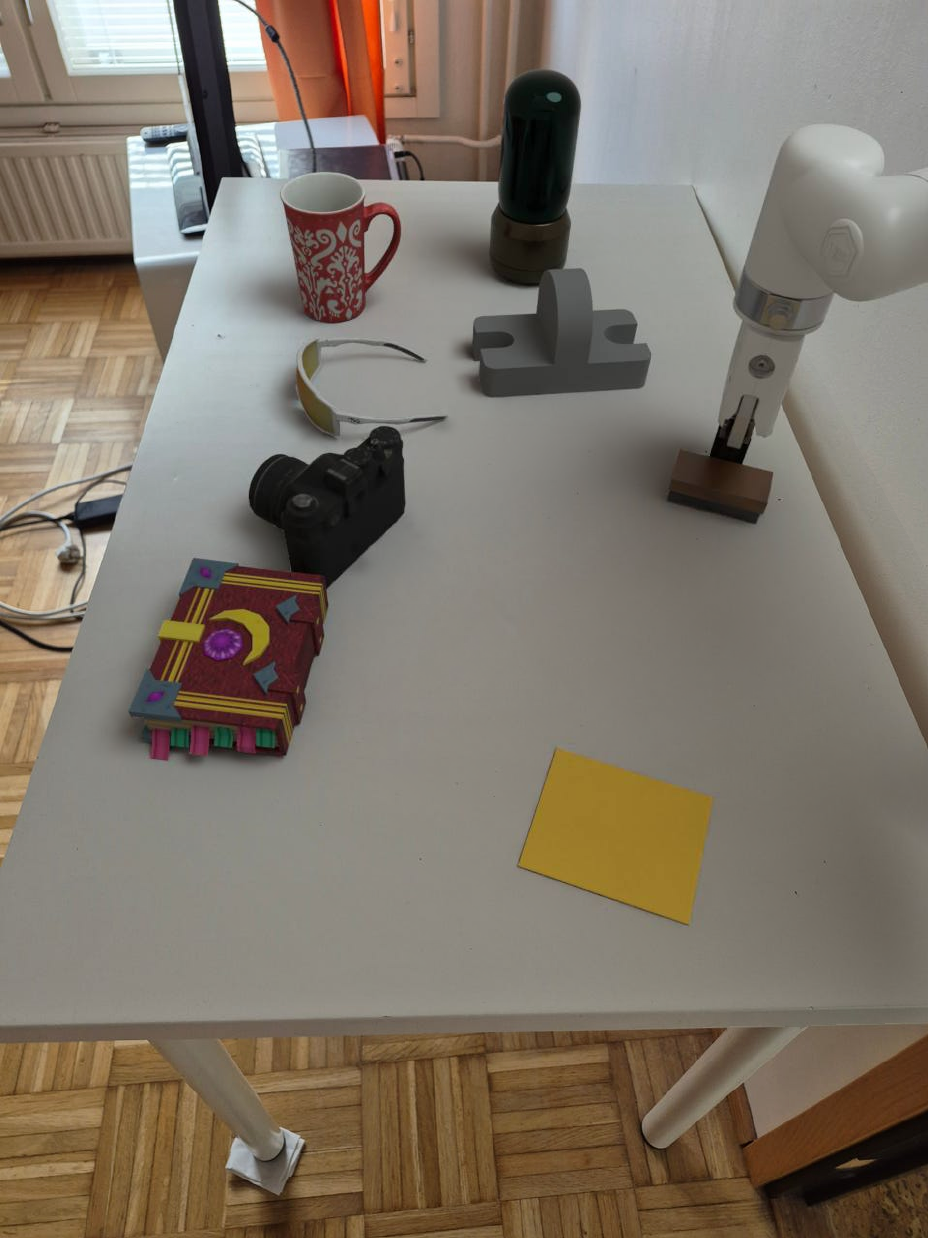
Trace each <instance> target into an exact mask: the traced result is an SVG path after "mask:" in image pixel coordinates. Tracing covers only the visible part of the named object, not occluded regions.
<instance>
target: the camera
mask: <svg viewBox="0 0 928 1238" xmlns="http://www.w3.org/2000/svg"><path fill="white" fill-rule="evenodd" d="M403 450H404V441H403V440H402V438H401V433H400V431H399V430H398V429H397V428H395V427H393V426H389V425H380V426H377V427H375V428H373V429H372V430H371V431H370V432H369V434H368V437H367V438H366V439H364V441H362V442H361V443H360V444H359V445H357V446H356V447H351V448H349V449H346V450H345V451H344V453H343V454H341V453H335V452H325V453H322V454H320V455H318V456H317V457H316V458H315V459H314V460H313V461H311V463H307V462H305V461H303V460H301V459H299V458H297V457H295V456H289V455H287V454H282V453H276V454H273V455H271V456H270V457H268V458H267V459H265V460H264V461H263V462H262V463H261V464H260V465H259V466H258V468H257V470H256V471H255V473H254V474H253V477H252V479H251V481H250V484H249V489H248V496H247V497H248V503H249V507H250V509H251V510H252V512H253V513H254V515H255V516H257V517H259V518H260V519H262V520H263V521H264V522H267V523H268V524H269V525H272V526H274V527H275V528H276V529H279V530H280V531H282V532H283V536H284V541H285V546H286V552H287V557H288V563H289V568H290V572H296V573H305V574H314V575H323V576H325V583H326V590H328V589H329V588H330V587H331V586H332V584H333V583H334V582H336V581H337V580H338V579H339V578H340V577H341V576H342V575H343V574H344V573H345V572H346V571H347V570H348V569H349V568H350V567H351V566H352V565H353V564H354V563H355V562H357V560H359V559H360V558H361V556H363V555H364V554H365V553H366V552H367V551H368V550H369V548H370V547H371V546H372V545H374V544H375V543H376V542H378V540H380V538H381V537H382V536H383V535H384V534H385V533H386V532H387V531H388V530H389V529H391V528H392V527H393V526H394V525H395V524H396V523H397V522H398V521H399V520H400V519H401V518H402V516H403V515H404V513H405V510H406V503H407V502H406V486H405V481H406V480H405V458H404V455H403Z"/></svg>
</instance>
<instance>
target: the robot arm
mask: <svg viewBox="0 0 928 1238" xmlns="http://www.w3.org/2000/svg"><path fill="white" fill-rule="evenodd" d="M884 153H885V152H884V150H883V148H882V146H881V145H880V143H879V142H878V141H877V140H876V139H875V138H874V137H873V136H871V135H870V134H867V133H866V132H864V131H861V130H859V129H856V128H854V127H850V126H846V125H843V124H842V125H841V124H835V123H814V124H813V123H812V124H808V125H805V126H802V127H800V128H798V129H796V130H794V131H792V133H790V135H788V137H787V138H785V140H784V141H783V143H782V145H781V146H780V148H779V151H778V154H777V157H776V160H775V163H774V166H773V170H772V173H771V176H770V179H769V182H768V186H767V188H766V193H765V195H764V199H763V202H762V205H761V209H760V213H759V215H758V218H757V222H756V225H755V229H754V231H753V234H752V238H751V241H750V245H749V249H748V252H747V255H746V258H745V261H744V265H743V268H742V270H741V274H740V277H739V280H738V284H737V287H736V290H735V294H734V297H733V299H732V308H733V309H734V312H735V314H736V315H737V317H738V318H739V319H740V320H742V321H741V323H740V327H739V329H738V333H737V337H736V340H735V344H734V346H733V350H732V354H731V357H730V362H729V365H728V369H727V373H726V376H725V377H726V378H725V382H724V387H723V392H722V398H721V402H720V406H719V413H718V416H717V423H718V427H717V431H716V433H715V437H714V440H713V442H712V444H711V445H712V446H711V448H710V452H709V455H708V456H710V457H714V458H718V459H722V460H726V461H730V462H735V463H739V464H743V465H744V461H745V458H746V455H747V453H748V450H749V447H750V445H751V443H752V437H753V433H754V430H755V435H756V436H758V437H762V439H767V438H768V437H770V436H771V435H772V433H773V429H774V426H775V424H776V422H777V418H778V416H779V412H780V409H781V407H782V404H783V401H784V398H785V396H786V393H787V392H788V388H789V385H790V382H791V379H792V377H793V374H794V372H795V369H796V366H797V363H798V360H799V357H800V354H801V351H802V348H803V345H804V341H805V338H806V335H809V334H812V333H814V332H816V331H817V330H818V329H820V328H821V327H822V325H823V324H824V322H825V319H826V316H827V314H828V311H829V309H830V306H831V304H832V302H833V300H834V297H835V294H836V295H838V296H839V297H840V298H843V299H845V300H848V301H851V302H858V303H862V302H871V301H876V300H880V299H883V298H886V297H889V296H892V295H895V294H897V293H900V292H904V291H907V290H909V289H912V288H916V287H917V286H919V285H923V284H926V283H928V166H927V167H923V168H920V169H917V170H912V171H908V172H905V173H902V174H897V175H883V173H884V171H885V163H886V162H885V160H886V159H885V158H886V157H885V154H884Z"/></svg>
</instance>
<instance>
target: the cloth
mask: <svg viewBox="0 0 928 1238" xmlns="http://www.w3.org/2000/svg"><path fill="white" fill-rule="evenodd" d="M552 758H553V759H552V760H551V763H550V766H549V770H548V774H547V776H546V779H545V783H544V785H543V788H542V791H541V794H540V798H539V801H538V804H537V806H536V810H535V813H534V816H533V819H532V822H531V825H530V829H529V831H528V834H527V837H526V840H525V844H524V847H523V849H522V852H521V856H520V858H519V862H518V865H517V867H518V868H521V869H524V870H527V871H530V872H532V873H535V874H538V875H541V876H543V877H547V878H550V879H553V880H556V881H558V882H562V883H564V884H567V885H571V886H573V887H576V888H579V889H581V890H585V891H588V892H591V893H594V894H596V895H600V896H602V897H605V898H608V899H611V900H613V901H617V902H620V903H622V904H625V905H628V906H630V907H634V908H637V909H640V910H643V911H646V912H648V913H651V914H653V915H654V914H655V915H658V916H660V917H663V918H666V919H668V920H672V921H675V922H677V923H680V924H684V925H687V926H689V925H690V921H691V916H692V911H693V906H694V901H695V897H696V895H695V894H696V890H697V884H698V879H699V875H700V869H701V864H702V858H703V854H704V848H705V844H706V838H707V832H708V828H709V823H710V817H711V810H712V806H713V801H714V797H713V796H709V795H706V794H703V793H700V792H696V791H694V790H690V789H687V788H684V787H681V786H678V785H675V784H671V783H668V782H665V781H661V780H659V779H656V778H653V777H649V776H647V775H643V774H640V773H637V772H634V771H630V770H628V769H625V768H621V767H618V766H615V765H612V764H608V763H605V762H602V761H600V760H597V759H593V758H590V757H586V756H583V755H580V754H577V753H575V752H571V751H567V750H564V749H561V748H558V747H556V748H555V752H554V755H553V757H552Z"/></svg>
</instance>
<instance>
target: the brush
mask: <svg viewBox="0 0 928 1238" xmlns="http://www.w3.org/2000/svg"><path fill="white" fill-rule="evenodd" d="M677 453H678V454H677V455H676V460H675V463H674V466H673V469H672V473H671V476H670V480H669V483H668V485H667V491H668V493H667V497H666V501H667V502H671V503H674V504H678V505H682V506H686V507H689V508H693V509H698V510H702V511H705V512H709V513H713V514H716V515H721V516H724V517H728V518H732V519H736V520H740V521H744V522H747V523H750V524H758V520H759V518H760V516H761V515H763V514H764V513H765V511H766V508H767V505H768V504H769V503H768V502H769V498H770V492H771V487H772V481H773V477H774V471H770V470H766V469H763V468H758V467H754V466H750V465H746V464H744V463H743V464H739V463H735V462H730V461H726V460H722V459H718V458H714V457H710V456H709V455H706V454H702V453H699V452H694V451H690V450H685V449H682V448H679V450H678V452H677Z"/></svg>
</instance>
